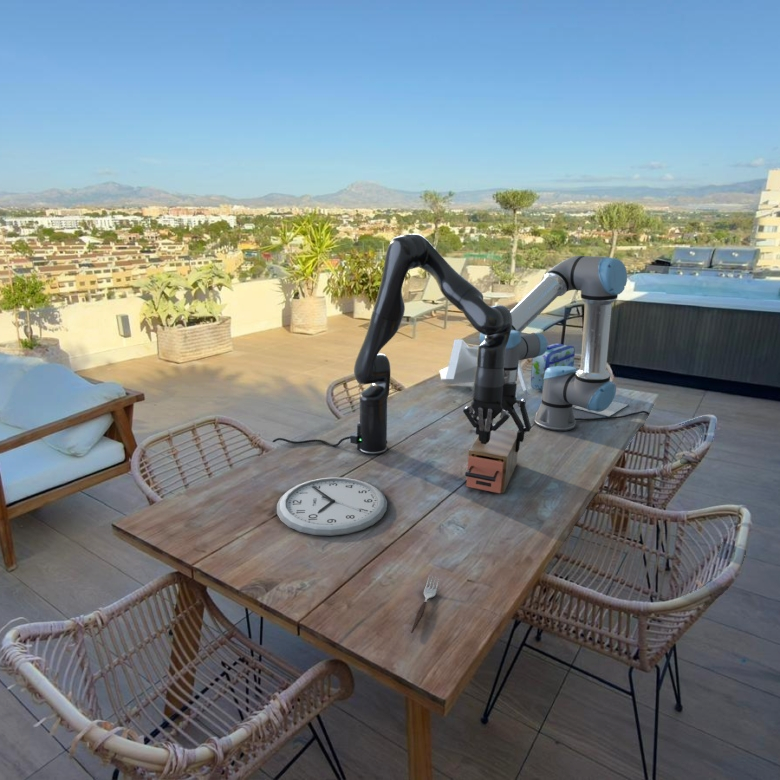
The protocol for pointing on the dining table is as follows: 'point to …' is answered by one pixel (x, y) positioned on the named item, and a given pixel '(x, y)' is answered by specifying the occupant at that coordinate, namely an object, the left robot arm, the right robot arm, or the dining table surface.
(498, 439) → the cabinet
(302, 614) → the dining table surface
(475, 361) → the white plastic object
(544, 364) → the lunch box
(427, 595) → the fork
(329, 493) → the wall clock
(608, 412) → the invitation card
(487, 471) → the drawer
